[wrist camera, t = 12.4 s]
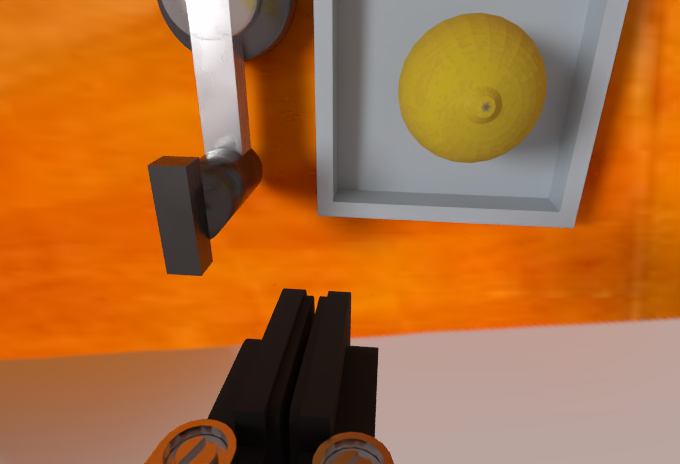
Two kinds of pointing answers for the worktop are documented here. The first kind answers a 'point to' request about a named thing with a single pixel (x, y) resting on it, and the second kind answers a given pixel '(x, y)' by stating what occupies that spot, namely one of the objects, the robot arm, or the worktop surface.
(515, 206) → the tray
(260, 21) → the crank base
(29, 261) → the worktop surface
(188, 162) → the crank handle
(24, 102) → the worktop surface
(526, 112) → the lemon
